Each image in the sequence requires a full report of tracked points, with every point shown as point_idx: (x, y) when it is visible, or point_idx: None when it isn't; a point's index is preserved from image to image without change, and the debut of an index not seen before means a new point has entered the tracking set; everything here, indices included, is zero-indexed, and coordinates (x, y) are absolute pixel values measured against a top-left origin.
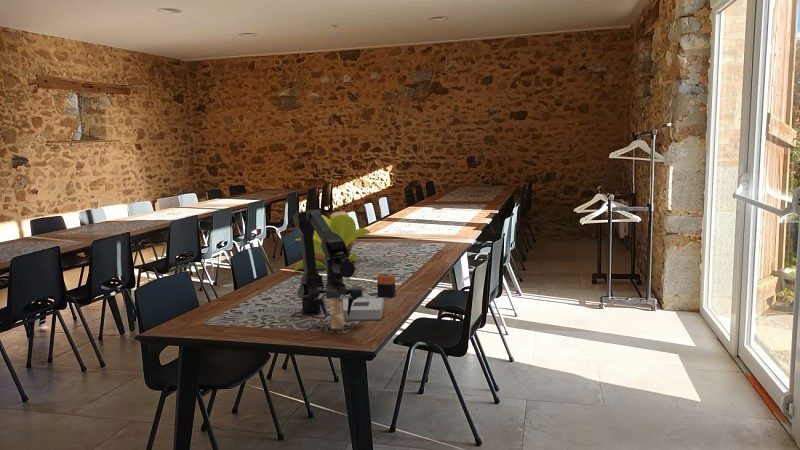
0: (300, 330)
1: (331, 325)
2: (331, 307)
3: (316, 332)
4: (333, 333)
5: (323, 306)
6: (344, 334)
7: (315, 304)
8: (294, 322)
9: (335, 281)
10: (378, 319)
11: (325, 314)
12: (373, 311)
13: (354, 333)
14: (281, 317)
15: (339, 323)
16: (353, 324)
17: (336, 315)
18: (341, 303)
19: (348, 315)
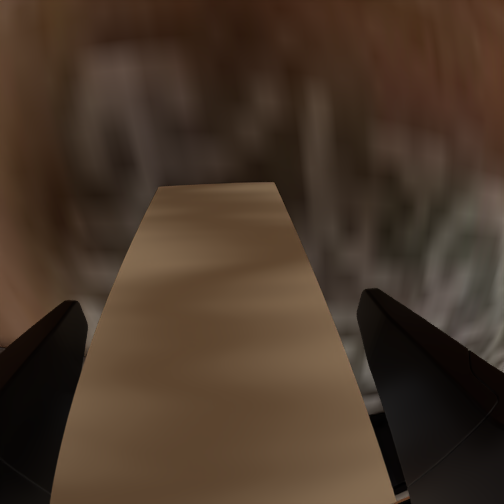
0: (498, 168)
1: (276, 193)
2: (320, 369)
3: (404, 86)
4: (227, 27)
5: (461, 373)
6: (104, 6)
7: (383, 459)
8: (488, 315)
9: None
10: (1, 350)
11: (379, 298)
12: None
13: (22, 52)
14: (499, 360)
15: (180, 206)
16: (99, 290)
17: (208, 260)
18: (80, 457)
19: (69, 301)
